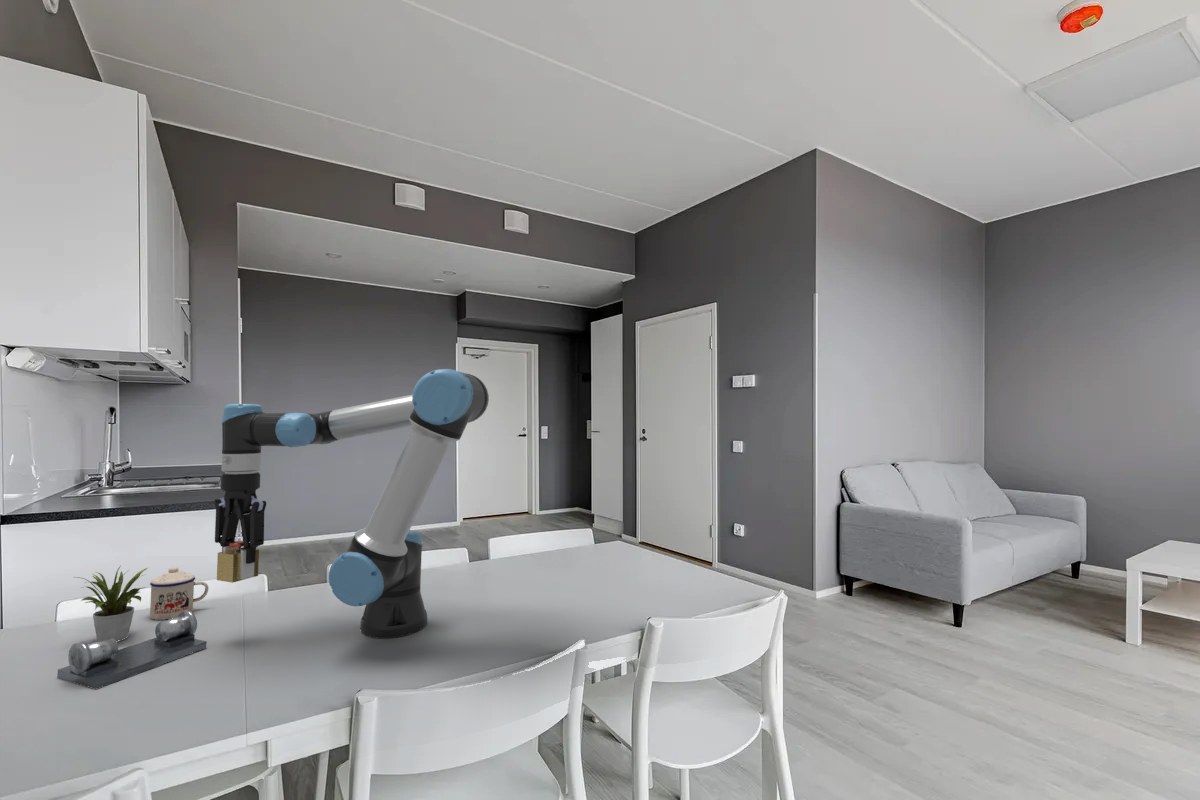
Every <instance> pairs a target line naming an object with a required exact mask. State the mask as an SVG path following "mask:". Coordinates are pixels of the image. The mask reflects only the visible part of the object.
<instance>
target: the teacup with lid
mask: <svg viewBox="0 0 1200 800" xmlns="http://www.w3.org/2000/svg"><path fill="white" fill-rule="evenodd" d="M195 580H196V577H195V574H193V573H190V572H189V573H188V572H184V571H183V570H179V567H177V566H174V567H173V566H172V567H170V568H169V569H168V571H167V572H164V573H163V574H161V575H159V576H157V577H154V578H153V579H152V580H151V581H150V583H149V585H150V586H151V587H150V607H149V608H150V609H149V617H150V619H151V620H154V619H155V621H166V620H165V619H168V620H170V619H172V618H176V617H178V615H179V614H180V613H181V612H183V611H187V610H189V611H191V612H193V611H194V603H196V602H200V601H202V600H203V599H204V598H205V597H206V596H207V595H208V592H209V584H208V583H206V582H205V581H201V580H200V581H195ZM198 585H199V586H200V585H201V586H203V587H204V592H203V594H202V595H200V596H199V597H197V598H194V595H195V594H194V592H195V591H194V589H195V588H194V586H198Z"/></svg>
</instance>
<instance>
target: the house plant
mask: <svg viewBox="0 0 1200 800" xmlns="http://www.w3.org/2000/svg"><path fill="white" fill-rule="evenodd" d="M120 568H121V566H119V567H118V568H117V570H116V571H115V576H114V579H113V583H112V585H111V588H109V587H108V584H107V581H106V579H105V576H104V575H103V574H102V573H100V572H97V571H95V573H96V574H98V575H100V577H101V578H100V577H99V576H98V575H95V574H93V573H92V578H93V579H94V580H95V581H90V580H88V579H86V578H83V577H80V576H79V577H77V576H76V577H75V576H74V578H77V579H83V580H85V582H84V584H86V583H90V584H91V585H92V586H93V587H91V586H86V588H87V589H90V590H91V591H92V592H93V593H94V594H95V595H96V596H97V598H96V597H94V596H86V597H83V598H82V599H81V600H80V602H82V601H85V602H84V604H87V603H88V604H89V603H93V604H95V609H94V611H95V612H94V613H93V614H92V618H93V623H94V630H95V637H96V642H97V641H101V640H104V639H107V638H110V637H112V638H114V639H115V640H116V641H118V640H122V639H124V638H126V637H127V636H128V637H129V633H130V630H131V629H130V628H131V627H132V626H131V625H132V620H133V616H134V613H135V607H134V606H130V605H132V603H131V602H132V598H134V599H136V600H138V601H139V602H140V603H141V601H142V596H140V595H137V594H139V593H140V590H141V589H146V587H147V586H144V587H139V588H135V587H134V588H132V589H130V588H131V587H132V586H133V584H134V583H135V582H136V581H137V580H139V578H141V577H142V576H145V575H147V574H143V573H144V571H146V570H147V569H148V567H146V568H143V569H141V570H140V571H139V572H137V573H136V574H135V575H134V576H133V577H132V578H131V579H130V580H128V582H127V583H126V584H125V586H124V588H123V590H122V586H123V582H124V573H123V571H122V570H120ZM119 570H120V574H119V573H118V572H119ZM128 572H129V570H127V571H125V574H127V573H128ZM118 574H119V577H118ZM142 574H143V575H142ZM117 578H118V581H117ZM95 585H96V586H97V587H98V588H99V589H100V590H99V589H98V588H97V587H96V586H95ZM80 588H83V586H82V587H80ZM129 589H130V590H129ZM121 590H122V592H121ZM100 594H101V595H100ZM104 600H105V601H104ZM128 604H129V606H128ZM98 608H100V610H97V609H98ZM96 610H97V611H96ZM126 639H127V638H126ZM122 641H123V640H122Z"/></svg>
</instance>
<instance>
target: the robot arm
mask: <svg viewBox="0 0 1200 800" xmlns="http://www.w3.org/2000/svg"><path fill="white" fill-rule="evenodd" d="M489 397H490V396H489V392H488V388H487V386H486V385H485V383H484V382H483V381H482V380H481V379H480V378H479V377H478V376H475V375H473V374H470V373H467V372H466V373H465V372H463V371H459V370H456V369H453V368H442V369H441V368H440V369H435V370H431V371H429V372H427V373H426V374H424V375H422V377H421V378H419V380H418V381H417V382H416V384H415V386H414V388H413V390H412V394H408V395H404V396H397V397H393V398H388V399H383V400H377V401H373V402H368V403H363V404H358V405H353V406H347V407H344V408H339V409H338V408H337V409H332V410H327V411H323V412H316V413H304V412H303V413H302V412H293V411H291V412H263V407H262V405H261V404H257V403H255V404H253V403H228V404H226V405H225V406H224V407H223V412H222V414H223V416H222V421H221V431H222V434H221V435H222V436H221V437H222V440H221V441H222V442H221V443H222V448H221V470H220V471H221V472H224V473H222V474H221V475H220V489H221V491H223V492H224V495H223V497H221V498H216V499H214V506H215V507H214V508H215V523H214V525H215V526H214V529H215V530H214V542H215V543H216V544H217V543H218V544H220V545H219V546H220V547H221V552H223V551H228V550H233V549H236V547H229V543H230V542H234V541H236V535H237V530H238V526H239V523H240V530H241V535H242V536H241V538H242V541H243V544H244V546H243V548H242V547H241V567H240V579H242V580H241V581H244V580H248V579H251V578H250V577H252V578H255V577H254V562H255V560H256V558H255V557H256V549H257V547H260V546H264V543H265V511H266V507H267V501H266V500H259V499H258V496H257V494H256V492H257V490H258V489H260V488H261V473H260V470H261V469H262V447H265V446H266V447H289V448H295V447H296V448H298V447H305V446H308V445H327V444H331V443H334V442H336V441H337V442H338V441H340V440H345V439H350V438H355V437H360V436H366V435H371V434H372V435H373V434H377V433H382V432H387V431H389V432H390V431H393V430H399V429H403V428H408V427H412V428H411V431H410V433H409V435H408V437H407V439H406V442H405V443H404V445H403V448H402V450H401V452H400V454H399V457H398V459H397V461H396V463H395V465H394V467H393V469H392V471H391V474H390V475H389V478H388V480H387V482H386V484H385V486H384V489H383V491H382V493H381V495H380V496H379V498H378V499H379V500H378V501H377V504H376V506H375V508H374V509H373V512H372V514H371V516H370V518H369V521H368V523H367V525H366V527H363V528H361V529H358V530H357V531H356V532H355V534H354V535H353V537H352V539H351V542H350V544H349V546H348V547H347V550H346V552H344V553H342V554H340V555H338V557H337V558H335V560H333V562H332V564H331V565H330V567H329V572H328V583H329V584H328V585H329V586H330V588H331V592H332V594H333V595H334V596H335V597H336V599H338V600H339V601H340V602H342V603H343V604H345V605H347V606H351V607H363V606H365V607H364V610H363V613H362V617H361V619H360V628H359V629H360V630H361V631H360V633H361V632H362V633H363V634H362V633H361V634H362V635H364V634H365V635H364V636H366V635H367V637H370V636H371V638H376V637H377V639H378V638H379V639H390V638H399V637H403V636H409V635H412V634H414V633H417V632H419V631H422V630H423V629H424V628H425V627H426V626H427V624H428V612H427V610H426V609H425V604H424V599H423V596H422V593H421V584H422V583H421V581H422V580H421V579H422V578H421V577H422V553H423V552H422V550H423V542H422V535H421V533H420V531H418V530H411V527H413V524H414V521H415V519H416V517H417V514H418V513H419V512H420V511H419V510H420V508H421V506H422V504H423V502H424V501H425V499H426V495H427V493H428V492H429V489H430V488H431V485H432V483H433V480H434V479H435V476H436V474H437V473H438V470H439V469H440V466H441V464H442V462H443V459H444V458H445V455H446V453H447V451H448V450H449V447H450V445H451V444H452V443H455V442H458V441H460V440H461V438H462V436H463V434H464V431H465V429H466V427H467V425H468V424H469V423H472V422H474V421H476V420H478V419H479V418H481V417H482V416H483V415H484V414H485V412H486V410H487V407H488V406H489V401H490V399H489ZM258 471H259V472H258ZM247 578H248V579H247ZM243 579H244V580H243Z"/></svg>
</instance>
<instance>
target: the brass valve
mask: <svg viewBox="0 0 1200 800" xmlns="http://www.w3.org/2000/svg"><path fill="white" fill-rule="evenodd" d="M229 547H236V549H233V550H228V551H223V552H222V551H220V552H219V551H218V552H217V560H216V561H217V565H216V568H217V569H216V581H218V582H219V581H220V582H227V583H232V584H233V583H237V582H241V581H244V580H245V579H243V580H242V579H240V567H241V548H243V547H244V544H243V540H235V541H234V542H230V543H229ZM259 556H260V549H259V548H256V557H255V558H256V560H255V562H254V577H250V578H247V579H246V580H248V579H251V578H255V577H258V576H259V562H260V561H259V560H260V559H259V558H260V557H259Z"/></svg>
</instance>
